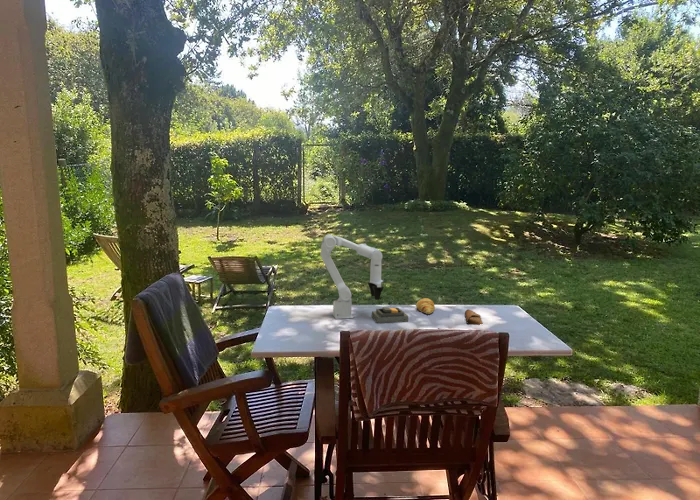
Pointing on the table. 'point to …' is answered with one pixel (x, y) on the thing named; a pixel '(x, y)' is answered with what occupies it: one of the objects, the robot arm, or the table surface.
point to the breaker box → (389, 316)
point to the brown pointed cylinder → (472, 318)
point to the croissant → (425, 306)
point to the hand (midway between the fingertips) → (375, 297)
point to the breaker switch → (390, 310)
